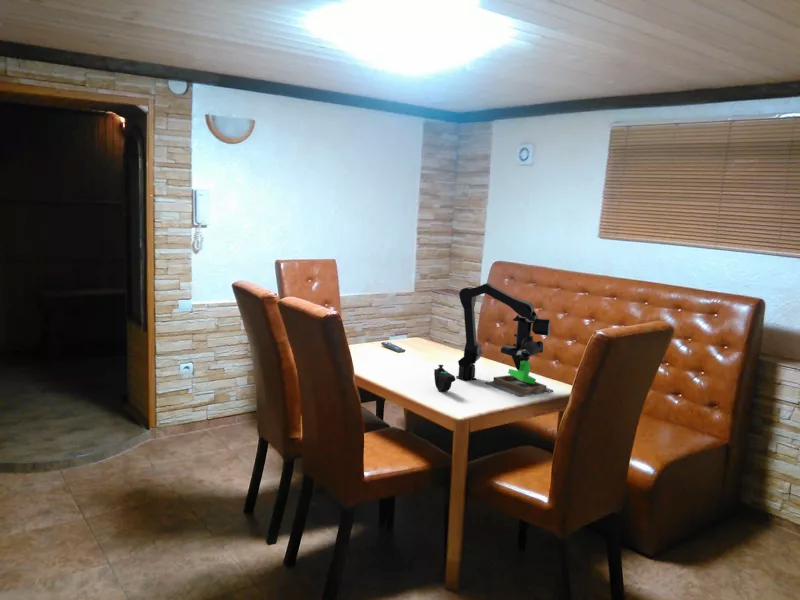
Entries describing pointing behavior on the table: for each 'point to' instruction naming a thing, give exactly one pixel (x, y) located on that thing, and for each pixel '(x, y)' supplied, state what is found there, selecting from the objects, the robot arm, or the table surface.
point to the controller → (443, 379)
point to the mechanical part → (523, 373)
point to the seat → (517, 386)
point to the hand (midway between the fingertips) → (520, 369)
